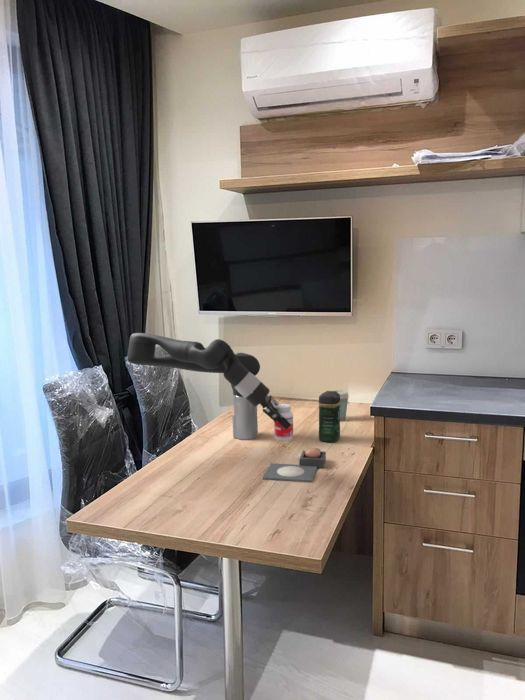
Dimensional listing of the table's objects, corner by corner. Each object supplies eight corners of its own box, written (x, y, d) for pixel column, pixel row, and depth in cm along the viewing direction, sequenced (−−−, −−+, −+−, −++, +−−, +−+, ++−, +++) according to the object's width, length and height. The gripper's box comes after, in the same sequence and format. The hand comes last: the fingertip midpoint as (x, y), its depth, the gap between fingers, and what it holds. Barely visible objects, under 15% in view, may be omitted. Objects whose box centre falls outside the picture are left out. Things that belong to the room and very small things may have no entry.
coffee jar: (337, 443, 220) (337, 395, 217) (317, 442, 223) (316, 394, 220) (342, 436, 229) (342, 389, 226) (322, 434, 232) (321, 388, 229)
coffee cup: (352, 418, 252) (352, 391, 250) (341, 423, 246) (340, 395, 244) (336, 415, 258) (336, 389, 256) (324, 419, 252) (324, 392, 250)
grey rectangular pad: (262, 479, 188) (262, 477, 188) (270, 464, 200) (270, 462, 200) (312, 482, 184) (312, 480, 184) (317, 467, 197) (317, 465, 197)
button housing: (299, 466, 198) (299, 458, 197) (303, 458, 205) (302, 450, 205) (323, 468, 196) (323, 459, 196) (325, 459, 204) (325, 451, 203)
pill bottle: (272, 436, 194) (271, 404, 193) (289, 434, 196) (289, 402, 194) (278, 442, 189) (277, 408, 187) (296, 440, 190) (295, 407, 188)
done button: (304, 457, 198) (304, 452, 198) (306, 452, 203) (306, 447, 203) (319, 458, 197) (319, 452, 197) (321, 453, 202) (321, 447, 202)
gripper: (246, 391, 198) (281, 425, 199) (241, 402, 184) (280, 438, 185) (261, 376, 197) (297, 410, 198) (258, 385, 183) (296, 422, 184)
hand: (288, 423), depth 191 cm, fingers closed on pill bottle, 6 cm apart
